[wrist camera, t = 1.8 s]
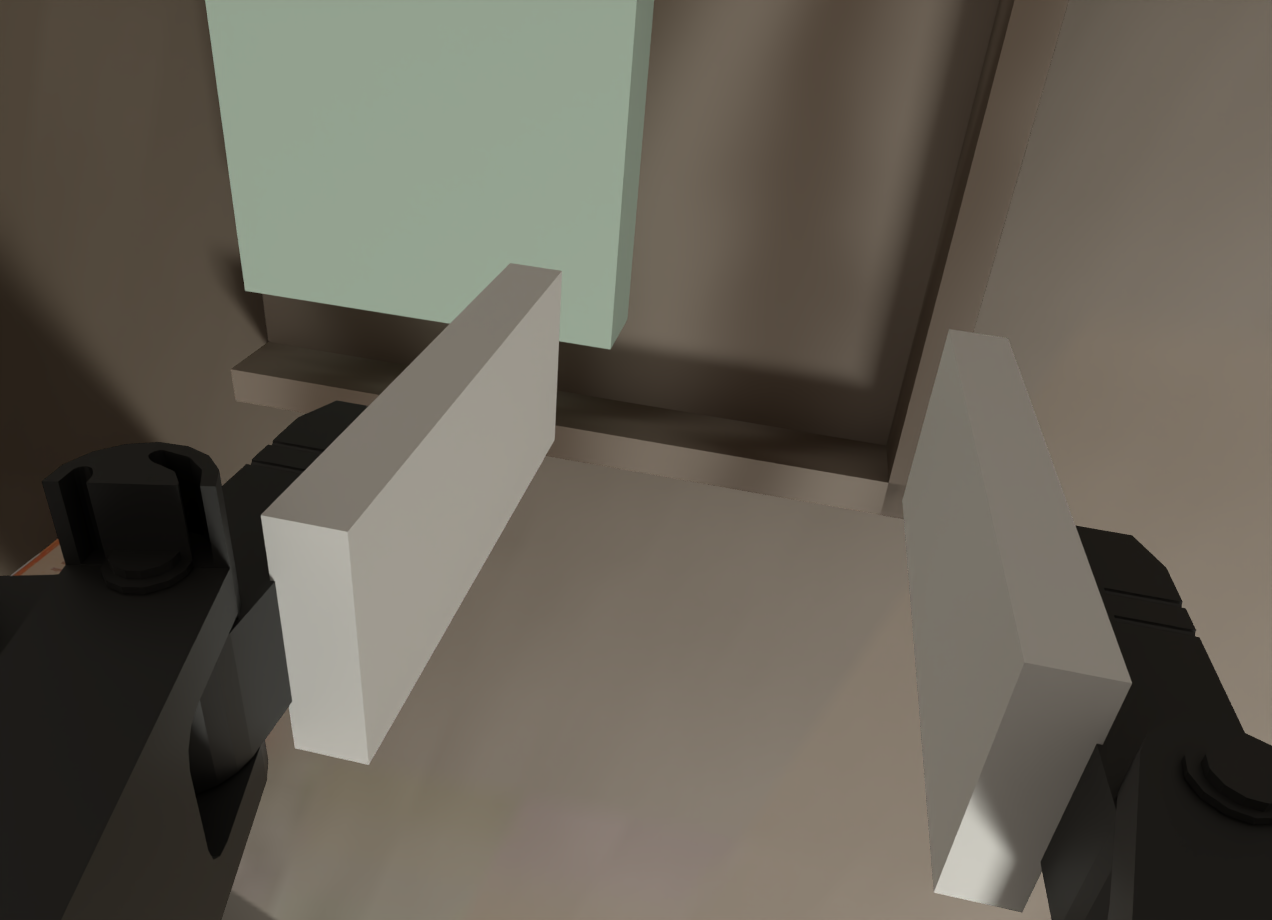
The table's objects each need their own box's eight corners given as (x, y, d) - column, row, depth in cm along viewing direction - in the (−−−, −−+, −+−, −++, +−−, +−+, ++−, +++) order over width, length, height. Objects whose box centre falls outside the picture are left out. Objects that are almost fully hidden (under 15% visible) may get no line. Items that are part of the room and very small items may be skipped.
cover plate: (663, -110, 25) (645, -112, 22) (627, 319, 31) (610, 349, 29) (238, -150, 26) (183, -156, 24) (285, 266, 32) (244, 290, 30)
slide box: (1121, -280, 22) (1157, -306, 19) (914, 473, 32) (918, 521, 30) (194, -343, 25) (117, -373, 22) (280, 365, 35) (235, 400, 33)
